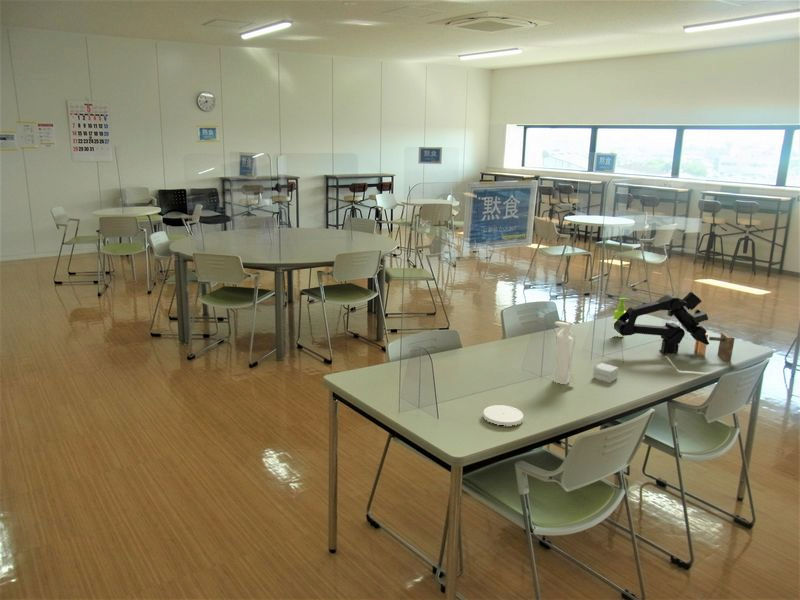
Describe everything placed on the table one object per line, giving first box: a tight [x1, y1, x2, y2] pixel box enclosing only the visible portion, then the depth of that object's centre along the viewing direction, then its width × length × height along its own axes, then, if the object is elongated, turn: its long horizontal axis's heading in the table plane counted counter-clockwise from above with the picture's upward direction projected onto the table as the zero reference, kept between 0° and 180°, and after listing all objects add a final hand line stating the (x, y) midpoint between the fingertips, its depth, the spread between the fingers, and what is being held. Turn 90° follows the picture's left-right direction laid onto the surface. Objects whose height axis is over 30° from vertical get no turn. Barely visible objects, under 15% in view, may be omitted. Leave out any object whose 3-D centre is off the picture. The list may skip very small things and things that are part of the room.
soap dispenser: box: [613, 297, 631, 338], centre depth 315 cm, size 6×7×20 cm
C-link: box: [693, 333, 709, 357], centre depth 291 cm, size 3×6×11 cm, turn 172°
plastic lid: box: [482, 404, 524, 427], centre depth 220 cm, size 14×14×2 cm
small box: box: [592, 362, 619, 384], centre depth 261 cm, size 8×8×5 cm
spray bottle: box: [553, 321, 576, 385], centre depth 252 cm, size 7×12×25 cm, turn 29°
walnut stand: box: [708, 332, 736, 362], centre depth 286 cm, size 9×8×12 cm
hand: (704, 341), depth 290 cm, fingers open, 9 cm apart
